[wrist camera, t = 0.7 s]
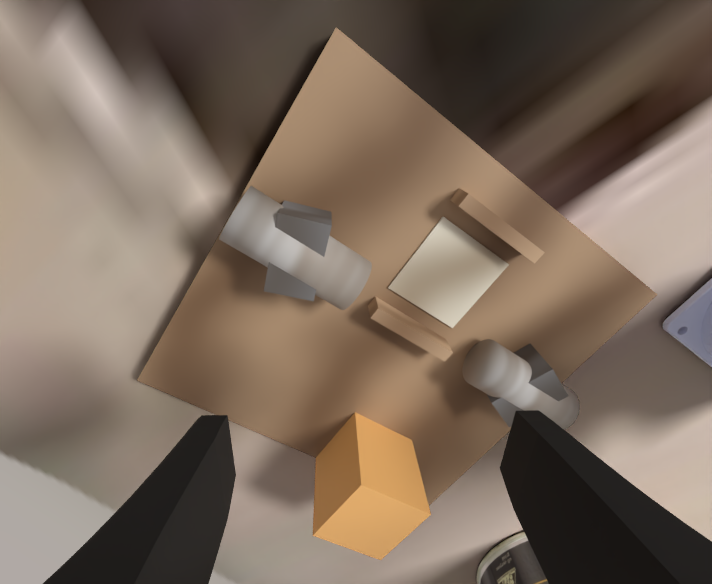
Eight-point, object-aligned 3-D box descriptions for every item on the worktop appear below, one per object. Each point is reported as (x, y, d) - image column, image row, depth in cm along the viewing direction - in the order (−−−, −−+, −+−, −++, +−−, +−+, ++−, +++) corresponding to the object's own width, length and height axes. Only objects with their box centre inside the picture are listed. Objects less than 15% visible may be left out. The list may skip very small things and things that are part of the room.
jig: (642, 286, 20) (700, 318, 17) (424, 492, 25) (437, 544, 22) (335, 32, 14) (337, 10, 11) (145, 368, 20) (112, 414, 17)
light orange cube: (412, 440, 22) (430, 514, 18) (371, 481, 23) (380, 560, 19) (355, 412, 21) (361, 484, 17) (315, 457, 22) (312, 535, 18)
